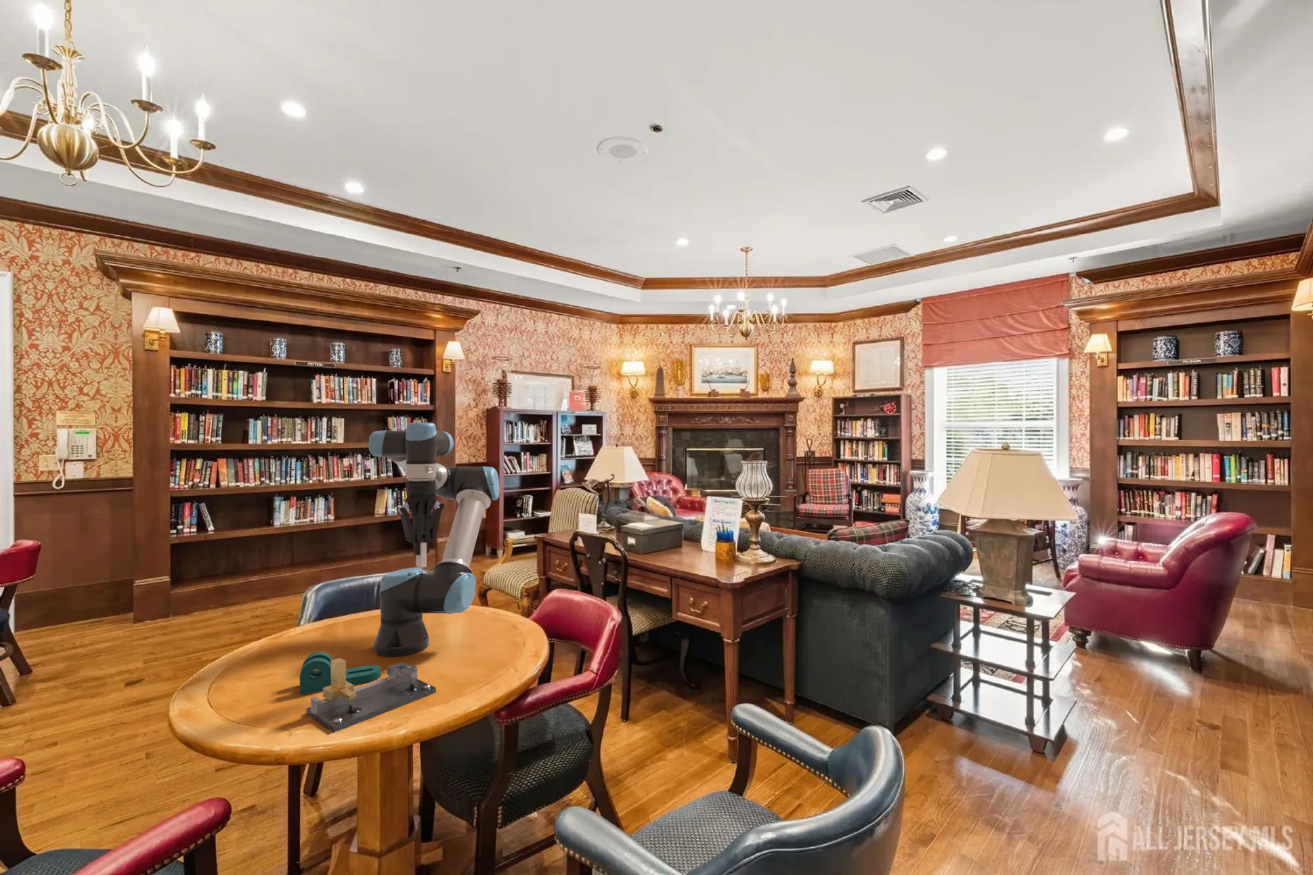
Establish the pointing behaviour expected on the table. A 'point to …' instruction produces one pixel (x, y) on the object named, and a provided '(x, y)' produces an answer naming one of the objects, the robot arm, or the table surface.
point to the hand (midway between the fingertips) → (421, 566)
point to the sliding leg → (339, 683)
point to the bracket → (322, 677)
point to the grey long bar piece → (371, 687)
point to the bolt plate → (372, 705)
